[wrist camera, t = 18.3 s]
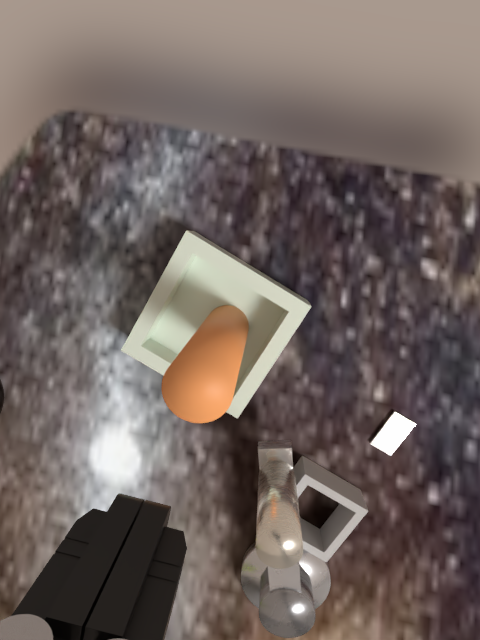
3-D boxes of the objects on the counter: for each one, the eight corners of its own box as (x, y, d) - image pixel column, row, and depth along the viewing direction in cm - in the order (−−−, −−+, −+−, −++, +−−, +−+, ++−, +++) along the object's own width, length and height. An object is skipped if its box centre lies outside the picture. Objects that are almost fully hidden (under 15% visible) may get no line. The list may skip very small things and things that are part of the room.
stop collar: (360, 489, 29) (368, 510, 27) (322, 538, 30) (326, 562, 28) (302, 455, 29) (305, 474, 26) (265, 505, 30) (265, 527, 27)
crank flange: (444, 441, 28) (451, 448, 27) (297, 618, 32) (298, 630, 31) (363, 392, 27) (367, 397, 26) (225, 578, 31) (224, 589, 30)
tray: (307, 300, 26) (311, 306, 24) (240, 402, 28) (237, 418, 26) (194, 231, 26) (186, 230, 23) (133, 340, 28) (120, 350, 25)
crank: (312, 605, 30) (329, 742, 22) (261, 605, 30) (259, 740, 22) (302, 429, 27) (317, 513, 19) (246, 432, 27) (236, 515, 19)
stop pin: (256, 319, 26) (247, 378, 15) (235, 354, 27) (211, 435, 16) (218, 297, 26) (182, 341, 15) (198, 333, 27) (149, 400, 16)
